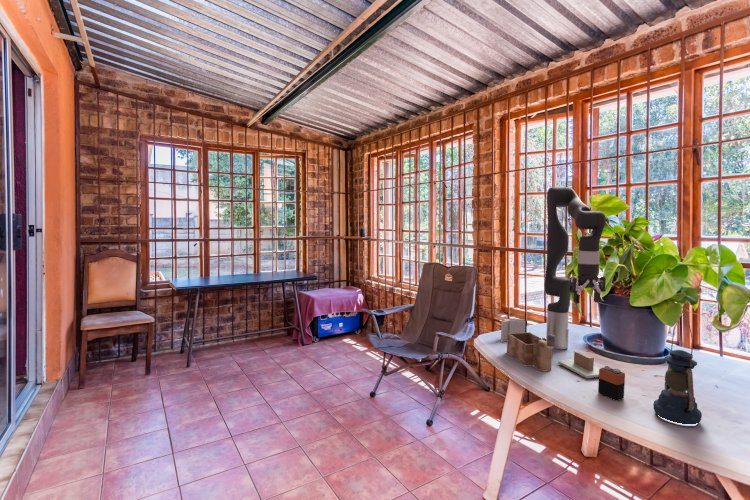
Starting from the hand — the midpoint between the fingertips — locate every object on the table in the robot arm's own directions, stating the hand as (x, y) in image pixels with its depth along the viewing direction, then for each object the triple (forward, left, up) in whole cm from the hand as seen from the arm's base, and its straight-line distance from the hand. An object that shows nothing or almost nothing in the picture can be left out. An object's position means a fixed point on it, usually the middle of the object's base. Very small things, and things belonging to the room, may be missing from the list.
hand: (586, 302), depth 156 cm
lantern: (-22, +32, -28) cm, 48 cm away
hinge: (+28, -31, -28) cm, 50 cm away
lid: (0, 0, -28) cm, 28 cm away
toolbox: (+20, -4, -28) cm, 34 cm away
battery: (-6, +22, -28) cm, 36 cm away
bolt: (+14, +5, -18) cm, 23 cm away
